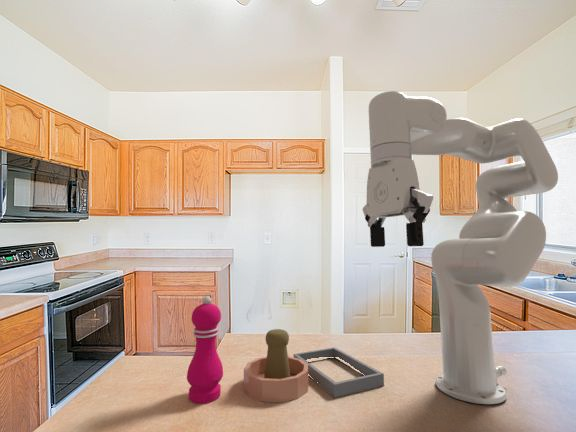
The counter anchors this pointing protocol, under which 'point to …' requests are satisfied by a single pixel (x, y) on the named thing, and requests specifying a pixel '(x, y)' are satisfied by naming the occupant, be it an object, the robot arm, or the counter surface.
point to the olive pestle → (277, 354)
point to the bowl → (275, 381)
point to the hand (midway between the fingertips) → (395, 246)
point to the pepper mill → (205, 355)
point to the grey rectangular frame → (345, 387)
